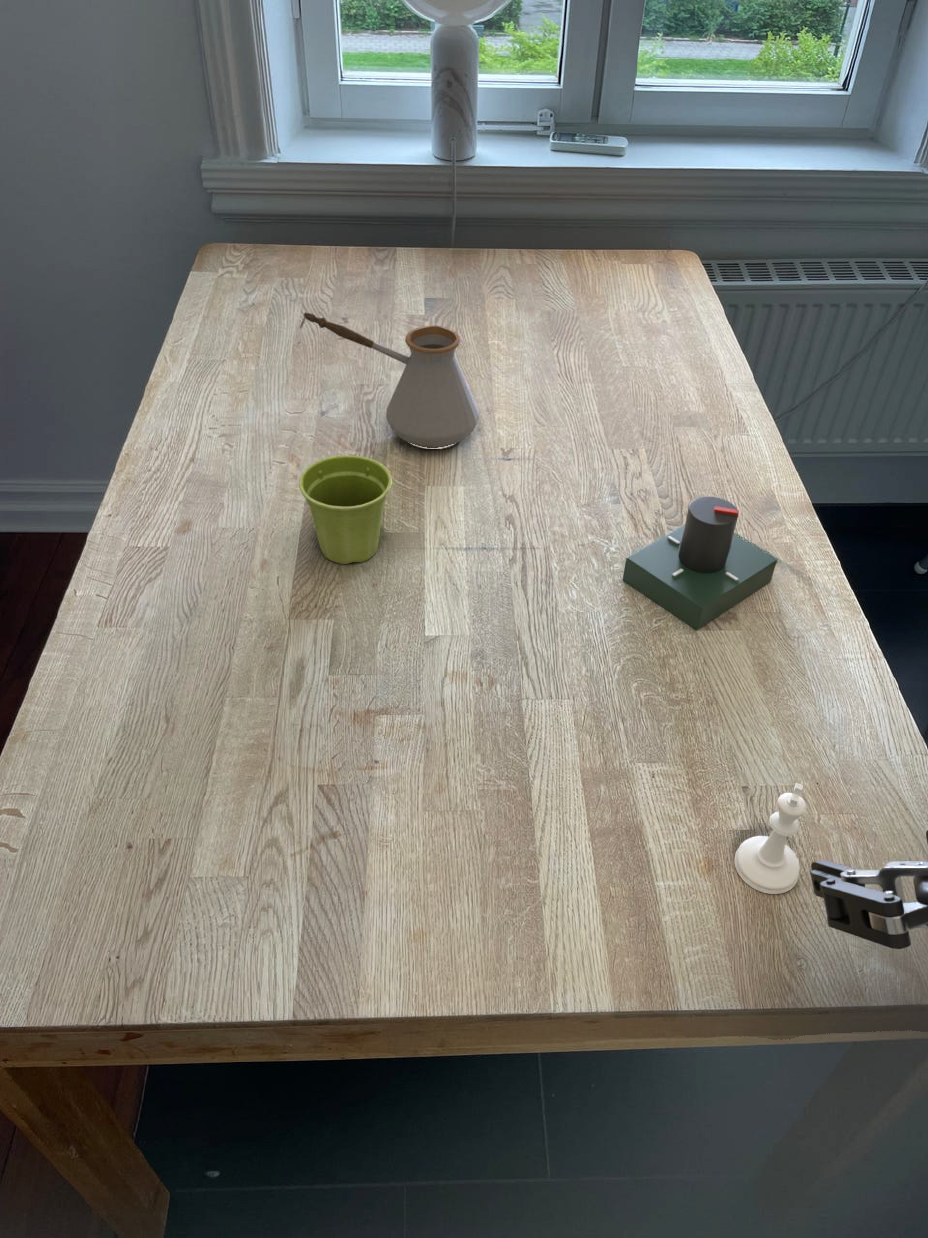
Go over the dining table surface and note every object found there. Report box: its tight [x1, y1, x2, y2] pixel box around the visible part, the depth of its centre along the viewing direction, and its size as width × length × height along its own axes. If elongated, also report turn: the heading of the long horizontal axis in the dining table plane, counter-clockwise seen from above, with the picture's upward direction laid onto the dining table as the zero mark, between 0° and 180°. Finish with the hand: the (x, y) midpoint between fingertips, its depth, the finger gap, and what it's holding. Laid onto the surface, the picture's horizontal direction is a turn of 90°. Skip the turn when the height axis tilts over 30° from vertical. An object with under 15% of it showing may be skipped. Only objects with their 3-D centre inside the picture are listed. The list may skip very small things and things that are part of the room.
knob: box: [679, 496, 740, 573], centre depth 97 cm, size 5×5×6 cm
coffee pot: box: [299, 311, 480, 448], centre depth 117 cm, size 21×12×15 cm, turn 85°
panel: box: [622, 523, 778, 631], centre depth 100 cm, size 12×10×3 cm
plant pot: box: [298, 454, 393, 565], centre depth 101 cm, size 9×9×9 cm
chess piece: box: [733, 782, 807, 895], centre depth 72 cm, size 5×5×10 cm
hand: (875, 860), depth 62 cm, fingers open, 8 cm apart
